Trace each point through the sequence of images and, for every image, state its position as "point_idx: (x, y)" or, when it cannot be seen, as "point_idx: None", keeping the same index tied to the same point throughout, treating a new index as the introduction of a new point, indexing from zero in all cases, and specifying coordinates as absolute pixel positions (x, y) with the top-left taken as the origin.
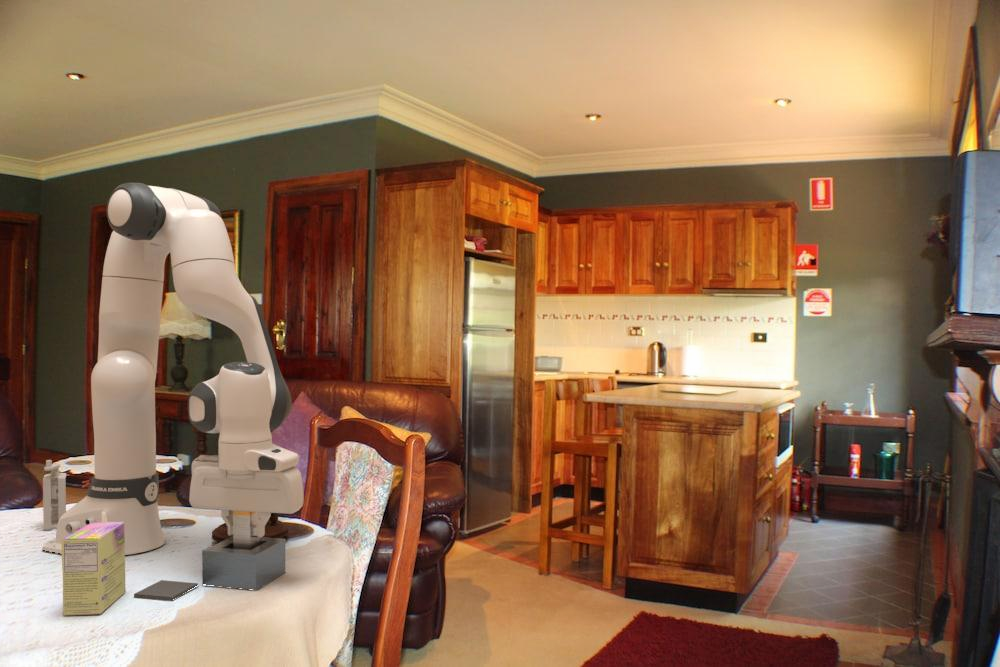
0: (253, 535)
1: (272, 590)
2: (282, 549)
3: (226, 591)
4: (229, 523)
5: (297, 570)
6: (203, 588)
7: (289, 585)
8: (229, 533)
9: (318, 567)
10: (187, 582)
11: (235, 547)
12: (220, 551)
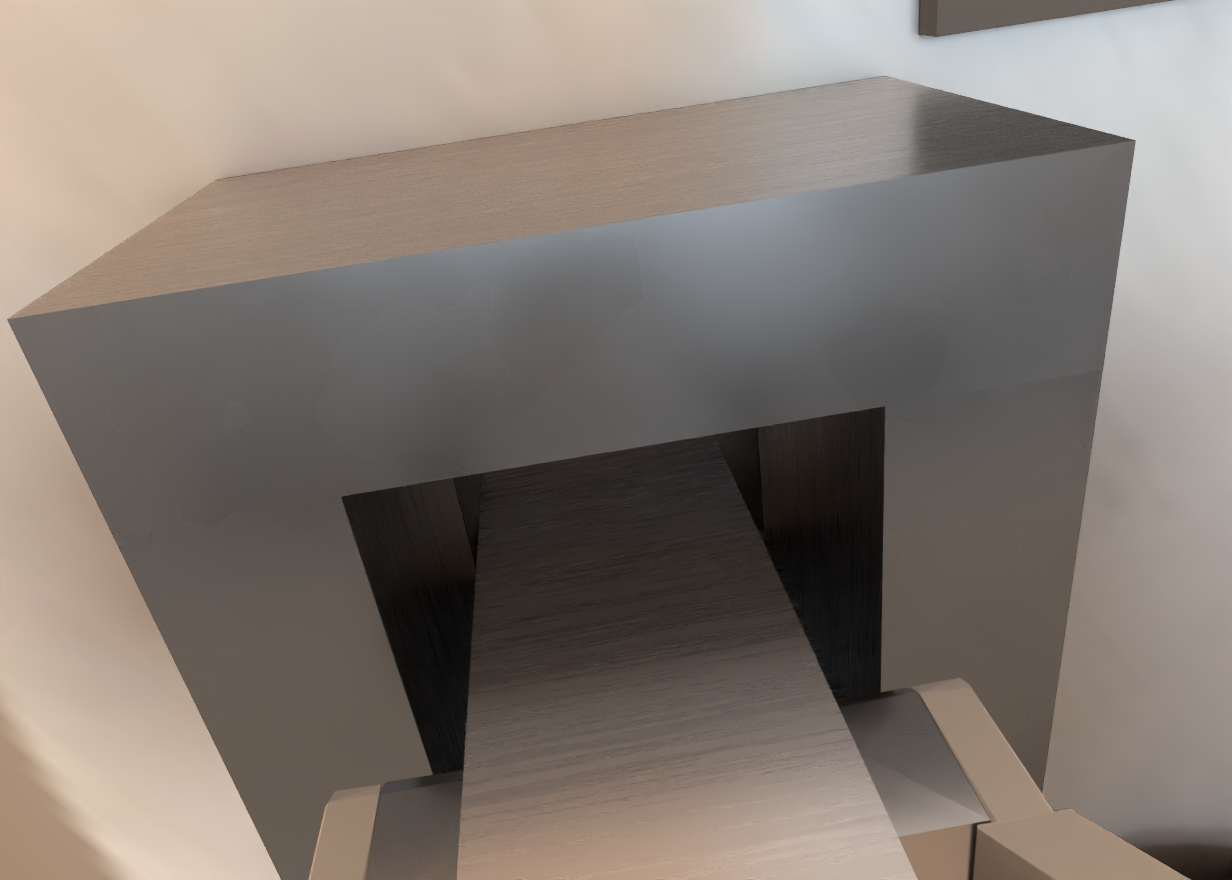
0: (450, 784)
1: (73, 264)
2: None
3: (515, 32)
4: (1036, 868)
5: None
6: (832, 18)
7: (55, 450)
8: (941, 701)
9: (240, 855)
10: (1073, 12)
11: (725, 542)
12: (780, 228)
